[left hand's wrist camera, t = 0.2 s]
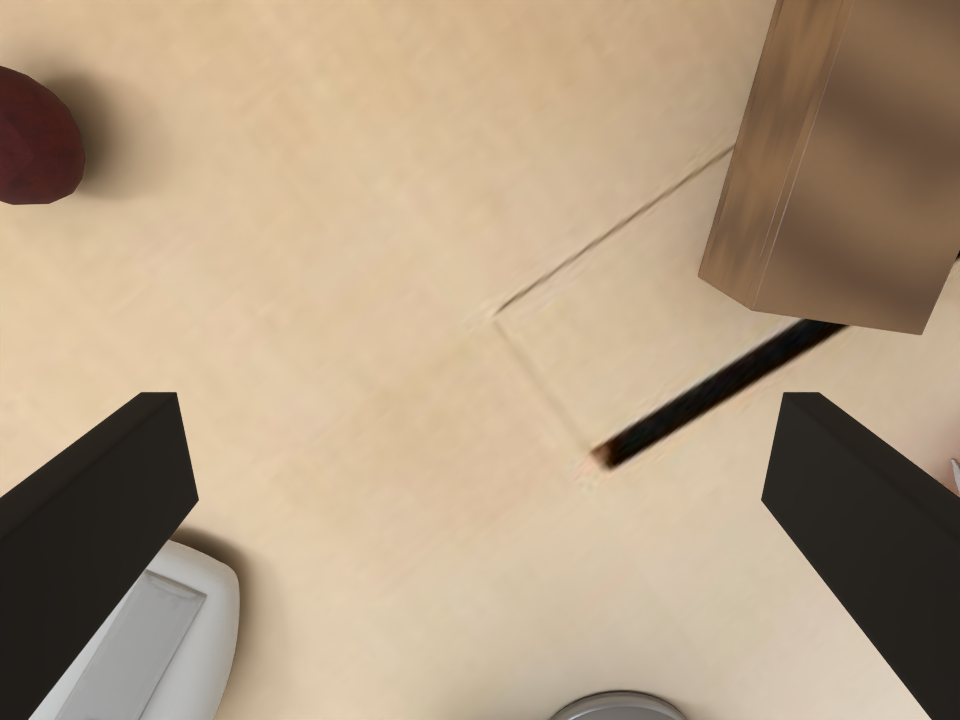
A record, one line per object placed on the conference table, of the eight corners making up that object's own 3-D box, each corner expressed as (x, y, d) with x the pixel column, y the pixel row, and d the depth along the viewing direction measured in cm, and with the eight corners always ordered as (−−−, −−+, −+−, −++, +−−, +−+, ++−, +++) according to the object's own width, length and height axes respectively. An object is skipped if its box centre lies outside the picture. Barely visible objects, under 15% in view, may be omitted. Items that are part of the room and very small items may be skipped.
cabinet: (800, -82, 32) (903, -154, 24) (967, -51, 33) (1121, -111, 25) (697, 276, 40) (751, 310, 32) (835, 297, 40) (922, 335, 32)
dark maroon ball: (42, 45, 34) (-62, 23, 28) (137, 159, 37) (62, 164, 30) (-39, 119, 36) (-155, 114, 29) (58, 224, 38) (-30, 242, 32)
